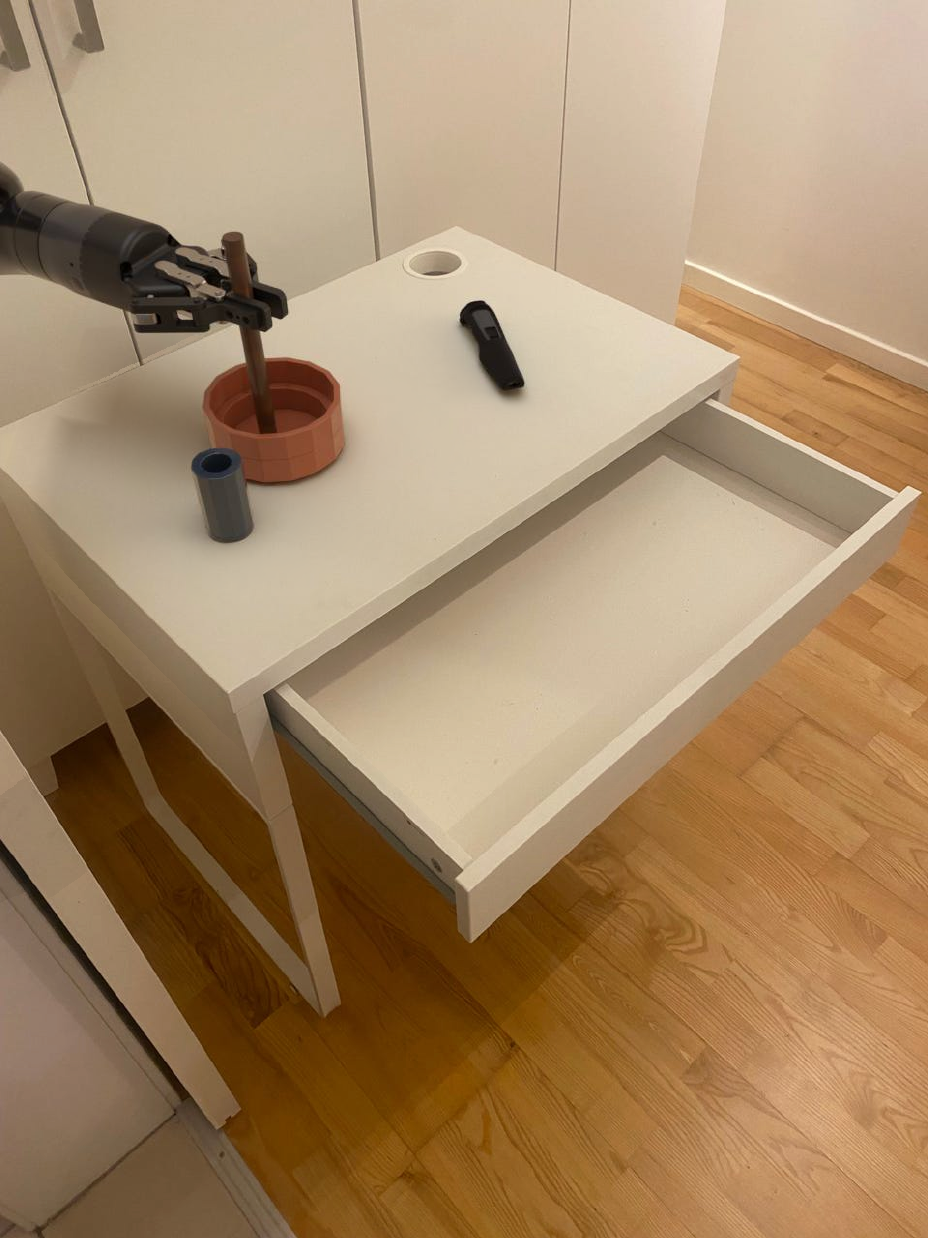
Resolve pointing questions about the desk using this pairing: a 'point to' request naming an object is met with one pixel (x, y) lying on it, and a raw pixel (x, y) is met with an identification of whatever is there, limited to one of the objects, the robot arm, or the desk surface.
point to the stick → (250, 333)
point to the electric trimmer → (492, 345)
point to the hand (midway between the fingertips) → (276, 312)
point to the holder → (223, 494)
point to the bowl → (278, 419)
